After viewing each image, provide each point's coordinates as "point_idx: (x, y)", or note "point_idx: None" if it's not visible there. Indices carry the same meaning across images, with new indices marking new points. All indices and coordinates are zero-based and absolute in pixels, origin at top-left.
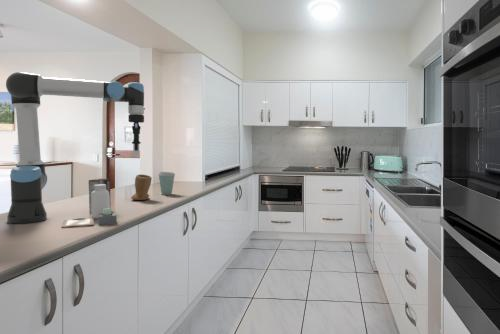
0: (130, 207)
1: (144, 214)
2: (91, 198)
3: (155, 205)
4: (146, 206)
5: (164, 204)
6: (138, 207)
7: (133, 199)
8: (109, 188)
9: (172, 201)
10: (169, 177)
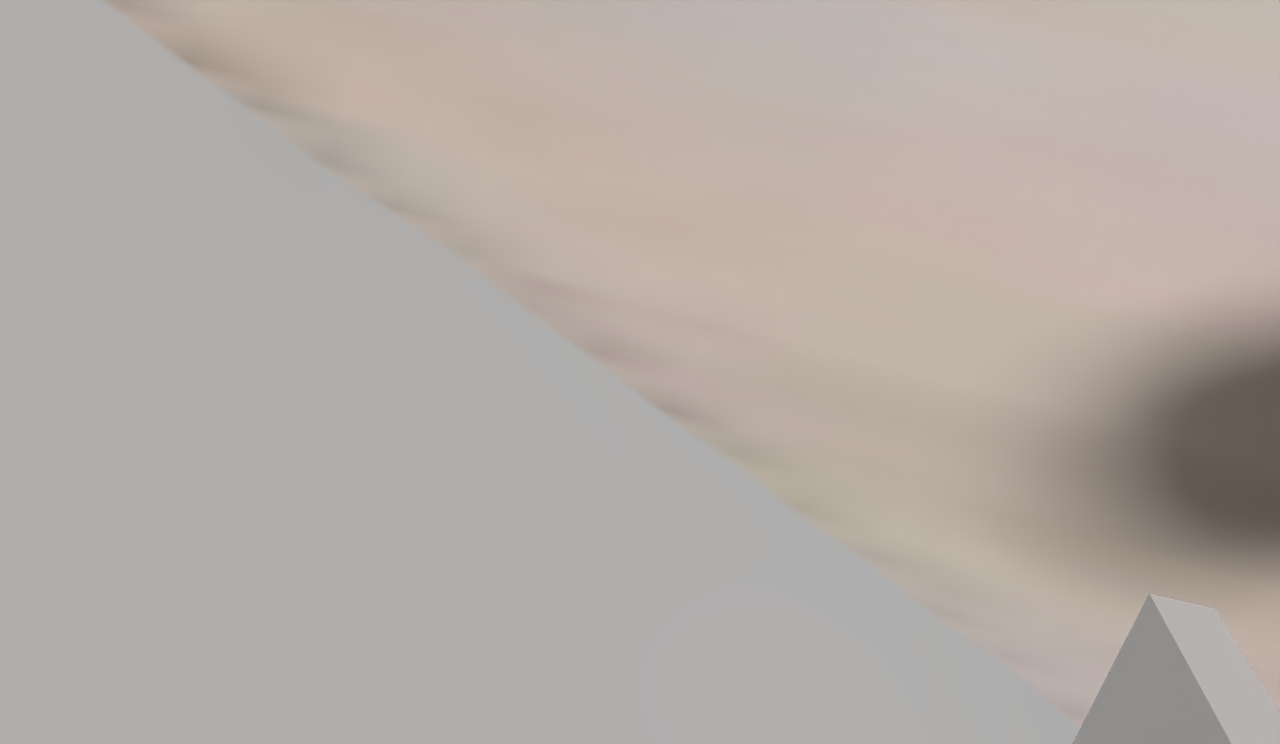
0: (966, 52)
1: (249, 100)
2: None
3: (947, 430)
4: (927, 297)
5: (966, 555)
6: (897, 168)
7: None
8: None
9: None
10: None
